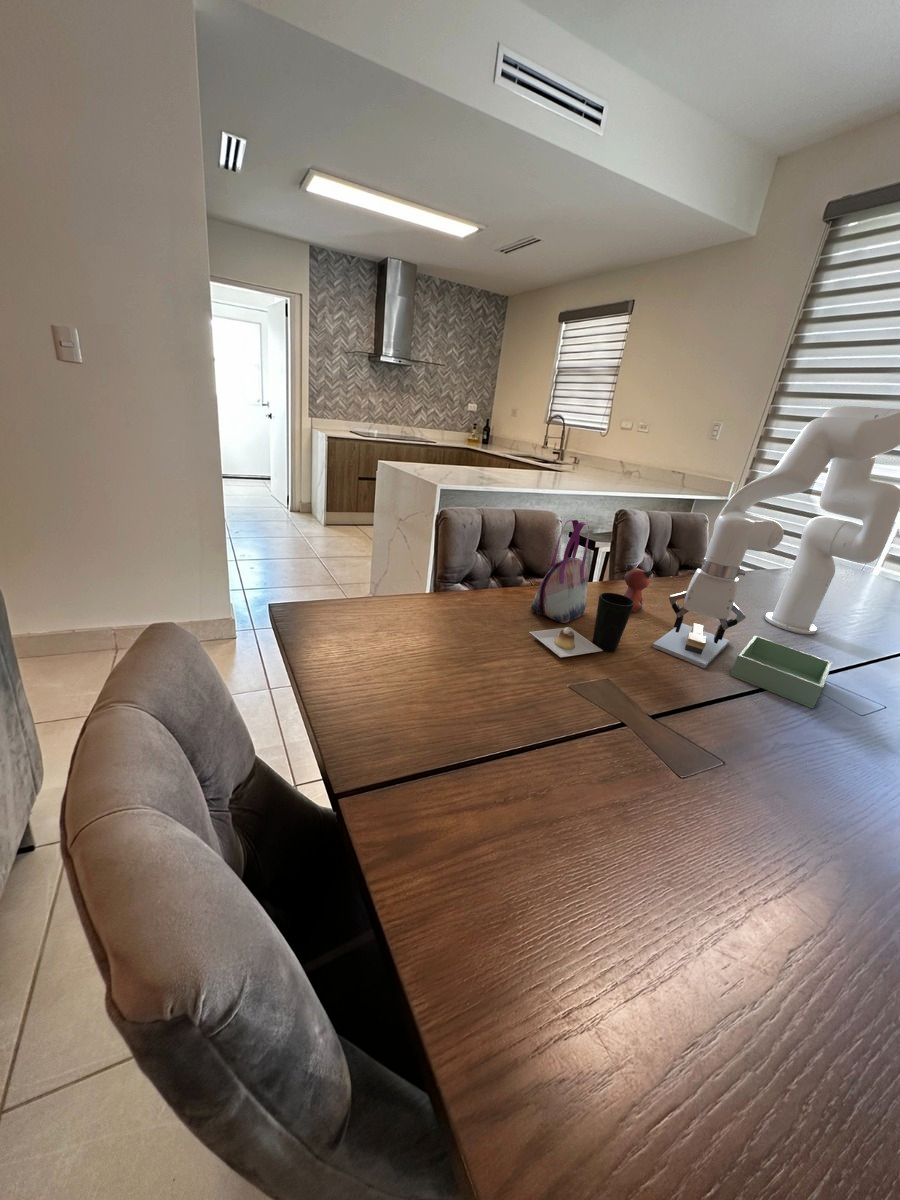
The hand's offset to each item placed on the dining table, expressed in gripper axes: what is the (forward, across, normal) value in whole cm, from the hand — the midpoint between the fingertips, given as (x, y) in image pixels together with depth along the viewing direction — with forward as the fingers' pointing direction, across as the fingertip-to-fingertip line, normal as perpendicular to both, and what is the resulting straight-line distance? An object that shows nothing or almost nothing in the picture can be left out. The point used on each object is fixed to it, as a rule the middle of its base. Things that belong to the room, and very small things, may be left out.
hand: (696, 635), depth 116 cm
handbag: (+2, +33, +6) cm, 34 cm away
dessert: (+2, +26, +24) cm, 36 cm away
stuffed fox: (+2, +18, -12) cm, 22 cm away
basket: (+2, -18, +6) cm, 19 cm away
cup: (+2, +19, +17) cm, 26 cm away
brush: (+1, 0, +2) cm, 2 cm away
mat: (+2, 0, +2) cm, 3 cm away
